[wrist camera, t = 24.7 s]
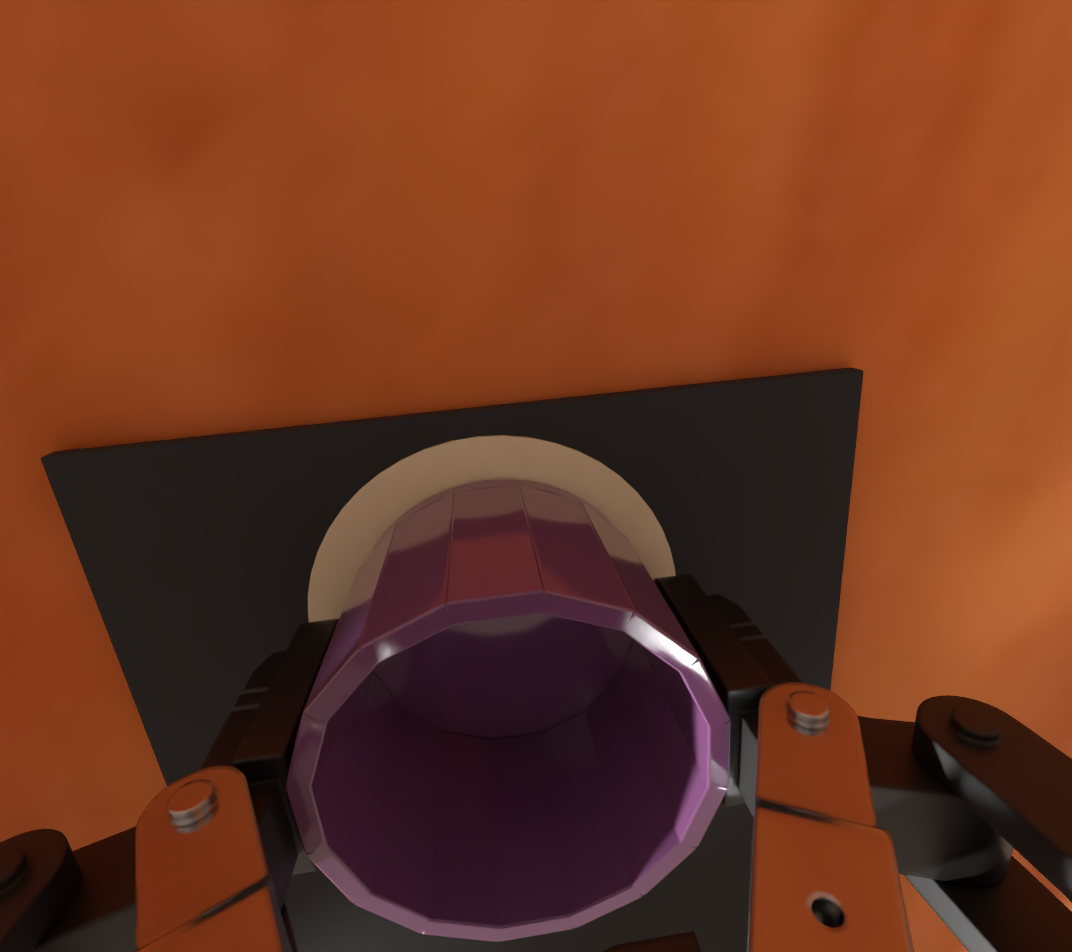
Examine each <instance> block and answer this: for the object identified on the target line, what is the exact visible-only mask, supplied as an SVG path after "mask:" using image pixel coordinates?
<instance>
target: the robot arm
mask: <svg viewBox="0 0 1072 952" xmlns="http://www.w3.org/2000/svg"><path fill="white" fill-rule="evenodd" d="M654 583H655V584H656V586H657V588H658V589H659V591H660V592H661V594H662V596H663V597H664V599H665V601H666V602H667V604H668V606H669V607H670V609H671V611H672V612H673V614H674V616H675V617H676V619H677V621H678V622H679V624H680V626H681V627H682V629H683V630H684V632H685V634H686V635H687V637H688V639H689V640H690V642H691V644H692V645H693V647H694V649H695V650H696V652H697V654H698V655H699V657H700V659H701V661H702V662H703V664H704V666H705V668H706V670H707V672H708V674H709V676H710V678H711V680H712V682H713V684H714V686H715V688H716V690H717V692H718V694H719V696H720V698H721V700H722V702H723V704H724V706H725V708H726V710H727V712H728V714H729V716H730V721H731V735H730V764H729V785H728V789H727V791H726V793H725V795H724V797H723V799H722V803H723V805H724V807H726V806H732V805H739V804H745V803H746V805H747V807H748V808H749V810H750V812H751V814H752V816H753V824H752V843H751V865H750V887H749V908H748V930H747V951H746V952H914V950H913V944H912V939H911V934H910V929H909V924H908V918H907V913H906V908H905V903H904V898H903V893H902V887H901V882H900V877H899V874H903V875H905V877H906V878H907V879H908V880H909V882H910V883H911V884H912V885H913V886H914V888H915V889H916V890H917V891H918V892H919V893H920V895H921V896H922V897H923V898H924V899H925V901H926V902H927V903H928V904H929V905H930V906H931V908H932V909H933V910H934V911H935V912H936V914H937V915H938V916H939V917H940V918H941V919H942V921H943V922H944V923H945V924H946V925H947V927H948V928H949V929H950V930H951V931H952V932H953V934H954V935H955V936H956V937H957V938H958V940H959V941H960V942H961V943H962V944H963V945H964V947H965V948H966V949H967V950H968V951H969V952H1072V912H1071V911H1070V910H1069V909H1068V908H1067V907H1066V906H1065V905H1064V904H1063V903H1062V902H1061V901H1060V900H1059V899H1057V898H1056V897H1055V896H1054V895H1053V894H1052V893H1051V892H1050V891H1049V890H1048V889H1047V888H1046V887H1045V886H1044V885H1043V884H1042V883H1040V882H1039V881H1038V880H1037V879H1036V878H1035V877H1034V876H1033V875H1032V874H1031V873H1030V872H1029V871H1028V870H1027V869H1026V868H1024V867H1023V866H1022V865H1021V864H1020V863H1019V862H1018V861H1017V860H1016V859H1015V858H1014V857H1013V856H1012V855H1011V854H1012V850H1013V848H1014V849H1016V850H1017V851H1018V852H1019V853H1020V854H1021V855H1022V856H1023V857H1024V858H1025V859H1026V860H1027V861H1029V862H1030V863H1031V864H1032V865H1033V866H1034V867H1035V868H1036V869H1037V870H1038V871H1039V872H1040V873H1042V874H1043V875H1044V876H1045V877H1046V878H1047V879H1048V880H1049V881H1050V882H1051V883H1052V884H1053V885H1055V886H1056V887H1057V888H1058V889H1059V890H1060V891H1061V892H1062V893H1063V894H1064V895H1065V896H1066V897H1067V898H1068V899H1069V900H1070V901H1071V902H1072V759H1071V758H1070V757H1068V756H1067V755H1065V754H1064V753H1062V752H1061V751H1060V750H1058V749H1057V748H1055V747H1054V746H1053V745H1051V744H1050V743H1048V742H1047V741H1046V740H1044V739H1043V738H1041V737H1040V736H1039V735H1037V734H1036V733H1034V732H1033V731H1032V730H1030V729H1029V728H1027V727H1026V726H1024V725H1023V724H1022V723H1020V722H1019V721H1017V720H1016V719H1015V718H1013V717H1012V716H1010V715H1008V714H1007V713H1005V712H1003V711H1001V710H999V709H998V708H995V707H993V706H991V705H989V704H986V703H983V702H980V701H977V700H974V699H970V698H965V697H959V696H936V697H932V698H929V699H927V700H925V701H923V702H922V703H921V704H920V705H919V707H918V710H917V714H916V720H915V722H905V721H895V720H884V719H874V718H867V717H861V716H857V714H856V713H855V711H854V710H853V708H852V707H851V706H850V705H849V704H848V703H847V702H846V701H845V700H844V699H842V698H841V697H839V696H838V695H836V694H835V693H833V692H831V691H829V690H827V689H824V688H822V687H819V686H816V685H812V684H807V683H803V682H802V680H801V679H800V678H799V677H798V676H797V674H796V673H795V672H794V671H793V670H792V668H791V667H790V666H789V665H788V663H787V662H786V661H785V660H784V659H783V657H782V656H781V655H780V654H779V653H778V651H777V650H776V649H775V648H774V646H773V645H772V644H771V643H770V642H769V640H768V639H767V638H766V639H765V638H764V634H763V633H762V632H761V631H760V629H759V628H758V627H757V626H756V625H754V624H753V621H752V620H751V619H750V617H749V616H748V615H747V614H746V613H745V611H744V610H743V609H742V608H741V606H739V605H737V604H736V603H734V602H732V601H730V600H729V599H727V598H725V597H724V596H722V595H720V594H717V595H709V596H707V595H706V593H705V592H704V591H703V589H702V588H701V587H700V585H699V584H698V583H697V581H696V580H695V579H694V577H693V576H692V575H691V574H684V575H676V576H669V577H661V578H655V579H654ZM338 621H339V618H338V619H331V620H323V621H315V622H307V623H302V624H300V625H299V627H298V629H297V631H296V633H295V635H294V637H293V639H292V641H291V643H290V645H289V647H288V649H287V651H281V652H274V653H273V654H272V655H271V656H269V657H268V658H267V659H266V660H265V661H264V662H263V663H262V664H261V665H260V666H258V667H257V668H256V669H255V670H254V671H253V673H252V675H251V677H250V678H249V680H248V682H247V684H246V686H245V687H244V689H243V694H242V695H240V696H239V698H238V700H237V702H236V704H235V705H234V707H233V712H231V713H230V715H229V716H228V718H227V720H226V722H225V724H224V725H223V727H222V729H221V731H220V733H219V734H218V736H217V738H216V740H215V742H214V743H213V745H212V747H211V749H210V751H209V753H208V754H207V756H206V758H205V760H204V762H203V763H202V765H201V767H200V769H199V770H197V771H195V772H192V773H190V774H188V775H186V776H184V777H182V778H180V779H178V780H177V781H175V782H173V783H172V784H170V785H169V786H168V787H166V788H165V789H163V790H162V791H161V792H160V793H159V794H158V795H157V796H156V797H155V798H154V799H153V800H152V801H151V802H150V803H149V804H148V805H147V807H146V808H145V809H144V811H143V812H142V814H141V816H140V818H139V820H138V823H137V826H135V827H133V828H131V829H128V830H126V831H124V832H121V833H118V834H116V835H113V836H111V837H108V838H106V839H103V840H100V841H98V842H95V843H93V844H90V845H88V846H85V847H83V848H80V849H77V850H75V851H72V849H71V847H70V845H69V843H68V841H67V839H66V837H65V836H64V834H63V833H61V832H59V831H57V830H53V829H40V830H33V831H29V832H26V833H22V834H20V835H17V836H14V837H12V838H10V839H7V840H5V841H3V842H1V843H0V952H299V949H298V945H297V941H296V937H295V933H294V929H293V925H292V921H291V917H290V913H289V910H288V907H287V904H286V900H285V897H286V894H287V890H288V887H289V884H290V880H291V877H292V875H294V874H300V873H306V872H312V871H317V868H318V867H317V866H316V865H315V864H314V863H313V862H312V861H311V860H310V859H309V858H308V857H307V855H306V853H305V852H304V849H303V845H302V842H301V839H300V835H299V832H298V829H297V825H296V822H295V819H294V815H293V812H292V809H291V805H290V802H289V799H288V795H287V792H286V779H287V775H288V771H289V767H290V762H291V758H292V754H293V750H294V746H295V741H296V737H297V733H298V729H299V725H300V720H301V716H302V713H303V711H304V708H305V705H306V703H307V700H308V698H309V695H310V693H311V690H312V687H313V685H314V682H315V680H316V677H317V675H318V672H319V669H320V667H321V664H322V662H323V659H324V657H325V654H326V651H327V649H328V646H329V644H330V641H331V639H332V636H333V633H334V631H335V628H336V626H337V623H338ZM602 952H701V949H700V946H699V943H698V941H697V938H696V935H695V932H694V931H691V932H686V933H680V934H674V935H669V936H663V937H657V938H652V939H646V940H640V941H635V942H629V943H623V944H618V945H614V946H612V947H610V948H608V949H606V950H604V951H602Z"/></svg>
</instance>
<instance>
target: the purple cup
mask: <svg viewBox="0 0 1072 952" xmlns="http://www.w3.org/2000/svg"><path fill="white" fill-rule="evenodd" d="M730 735H731V721H730V716H729V714H728V712H727V710H726V708H725V706H724V704H723V702H722V700H721V698H720V696H719V694H718V692H717V690H716V688H715V686H714V684H713V682H712V680H711V678H710V676H709V674H708V672H707V670H706V668H705V666H704V664H703V662H702V661H701V659H700V657H699V655H698V654H697V652H696V650H695V649H694V647H693V645H692V644H691V642H690V640H689V639H688V637H687V635H686V634H685V632H684V630H683V629H682V627H681V626H680V624H679V622H678V621H677V619H676V617H675V616H674V614H673V612H672V611H671V609H670V607H669V606H668V604H667V602H666V601H665V599H664V597H663V596H662V594H661V592H660V591H659V589H658V588H657V586H656V584H655V583H654V581H653V579H652V578H651V576H650V574H649V573H648V571H647V569H646V568H645V566H644V564H643V563H642V561H641V559H640V558H639V556H638V554H637V553H636V551H635V550H634V548H633V546H632V545H631V543H630V541H629V540H628V538H627V537H626V536H625V535H624V534H623V533H621V531H620V530H619V529H618V528H617V527H616V525H615V524H614V523H613V522H612V521H611V520H610V519H609V518H608V517H606V516H605V515H604V514H603V513H602V512H601V511H600V510H598V509H597V508H595V507H594V506H592V505H591V504H590V503H588V502H587V501H585V500H584V499H582V498H579V497H577V496H575V495H573V494H571V493H569V492H567V491H565V490H562V489H559V488H556V487H553V486H550V485H547V484H542V483H537V482H532V481H524V480H510V479H503V480H486V481H480V482H474V483H469V484H464V485H461V486H458V487H454V488H451V489H448V490H445V491H443V492H441V493H438V494H436V495H434V496H432V497H430V498H427V499H426V500H424V501H422V502H421V503H419V504H417V505H416V506H414V507H413V508H411V509H409V510H408V511H407V512H406V513H404V514H403V515H402V516H401V517H400V518H398V519H397V520H396V521H395V522H394V523H393V524H392V525H391V526H390V527H389V528H388V529H387V530H386V531H385V532H384V533H383V534H382V535H381V536H380V538H379V539H378V541H377V542H376V544H375V545H374V546H373V548H372V549H371V551H370V552H369V554H368V556H367V558H366V560H365V562H364V563H363V564H362V566H361V567H360V568H359V570H358V572H357V574H356V577H355V579H354V582H353V585H352V587H351V590H350V592H349V595H348V597H347V600H346V603H345V605H344V608H343V610H342V613H341V615H340V618H339V621H338V623H337V626H336V628H335V631H334V633H333V636H332V639H331V641H330V644H329V646H328V649H327V651H326V654H325V657H324V659H323V662H322V664H321V667H320V669H319V672H318V675H317V677H316V680H315V682H314V685H313V687H312V690H311V693H310V695H309V698H308V700H307V703H306V705H305V708H304V711H303V713H302V716H301V720H300V725H299V729H298V733H297V737H296V741H295V746H294V750H293V754H292V758H291V762H290V767H289V771H288V775H287V779H286V792H287V795H288V799H289V802H290V805H291V809H292V812H293V815H294V819H295V822H296V825H297V829H298V832H299V835H300V839H301V842H302V845H303V849H304V852H305V853H306V855H307V857H308V858H309V859H310V860H311V861H312V862H313V863H314V864H315V865H316V866H317V867H318V868H319V869H320V870H321V871H322V872H323V873H324V874H325V875H326V876H327V877H328V878H329V879H330V880H331V881H332V882H333V883H334V884H335V885H336V886H337V888H338V889H339V890H340V891H341V892H342V893H343V894H344V895H345V896H346V897H347V898H348V899H349V900H350V901H351V902H352V903H355V905H356V906H359V907H361V908H363V909H365V910H368V911H370V912H372V913H375V914H377V915H379V916H381V917H384V918H386V919H388V920H390V921H393V922H395V923H397V924H400V925H402V926H404V927H406V928H409V929H411V930H413V931H416V932H418V933H423V934H425V935H434V936H444V937H454V938H464V939H473V940H483V941H493V942H497V941H498V940H499V941H500V942H501V941H507V940H513V939H519V938H525V937H530V936H536V935H542V934H548V933H553V932H559V931H565V930H571V929H574V927H575V928H578V927H580V926H582V925H584V924H586V923H588V922H590V921H592V920H595V919H597V918H599V917H601V916H603V915H605V914H607V913H609V912H612V911H614V910H616V909H618V908H620V907H622V906H624V905H626V904H629V903H631V902H633V901H635V900H637V899H639V898H641V897H642V896H643V895H646V894H647V893H648V892H649V891H650V890H651V889H652V888H653V887H655V886H656V885H657V884H658V883H659V882H660V881H661V880H662V879H663V878H664V877H666V876H667V875H668V874H669V873H670V872H671V871H672V870H673V869H674V868H676V867H677V866H678V865H679V864H680V863H681V862H682V861H683V860H684V859H685V858H687V857H688V856H689V855H690V854H691V853H692V852H693V851H694V850H695V849H696V847H697V846H698V845H699V844H700V842H701V840H702V838H703V836H704V834H705V832H706V830H707V828H708V826H709V824H710V822H711V820H712V818H713V816H714V815H715V813H716V811H717V809H718V807H719V805H720V803H721V801H722V799H723V797H724V795H725V793H726V791H727V789H728V785H729V764H730Z"/></svg>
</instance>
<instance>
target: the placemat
mask: <svg viewBox="0 0 1072 952" xmlns="http://www.w3.org/2000/svg"><path fill="white" fill-rule="evenodd" d="M862 380H863V370H859V369H855V368H844V369H835V370H825V371H816V372H806V373H797V374H787V375H778V376H768V377H759V378H750V379H740V380H731V381H721V382H712V383H702V384H693V385H683V386H674V387H664V388H655V389H645V390H636V391H626V392H617V393H607V394H598V395H589V396H579V397H570V398H560V399H551V400H541V401H532V402H522V403H513V404H503V405H494V406H484V407H475V408H465V409H456V410H446V411H437V412H428V413H418V414H409V415H399V416H390V417H380V418H371V419H361V420H352V421H342V422H333V423H323V424H314V425H304V426H295V427H285V428H276V429H267V430H257V431H248V432H238V433H229V434H219V435H210V436H200V437H191V438H181V439H172V440H162V441H153V442H143V443H134V444H124V445H115V446H106V447H96V448H87V449H77V450H68V451H58V452H53V453H51V454H48V455H46V456H43V457H42V458H41V461H42V463H43V466H44V469H45V471H46V474H47V476H48V479H49V481H50V484H51V487H52V489H53V492H54V494H55V497H56V500H57V502H58V505H59V507H60V510H61V512H62V515H63V518H64V520H65V523H66V525H67V528H68V531H69V533H70V536H71V538H72V541H73V543H74V546H75V549H76V551H77V554H78V556H79V559H80V562H81V564H82V567H83V569H84V572H85V575H86V577H87V580H88V582H89V585H90V587H91V590H92V593H93V595H94V598H95V600H96V603H97V606H98V608H99V611H100V613H101V616H102V618H103V621H104V624H105V626H106V629H107V631H108V634H109V637H110V639H111V642H112V644H113V647H114V649H115V652H116V655H117V657H118V660H119V662H120V665H121V668H122V670H123V673H124V675H125V678H126V681H127V683H128V686H129V688H130V691H131V693H132V696H133V699H134V701H135V704H136V706H137V709H138V712H139V714H140V717H141V719H142V722H143V724H144V727H145V730H146V732H147V735H148V737H149V740H150V743H151V745H152V748H153V750H154V753H155V755H156V758H157V761H158V763H159V766H160V768H161V771H162V774H163V776H164V779H165V781H166V784H167V787H168V786H169V785H170V784H172V783H173V782H175V781H177V780H178V779H180V778H182V777H184V776H186V775H188V774H190V773H192V772H195V771H197V770H199V769H200V767H201V765H202V763H203V762H204V760H205V758H206V756H207V754H208V753H209V751H210V749H211V747H212V745H213V743H214V742H215V740H216V738H217V736H218V734H219V733H220V731H221V729H222V727H223V725H224V724H225V722H226V720H227V718H228V716H229V715H230V713H231V712H233V707H234V705H235V704H236V702H237V700H238V698H239V696H240V695H242V694H243V689H244V687H245V686H246V684H247V682H248V680H249V678H250V677H251V675H252V673H253V671H254V670H255V669H256V668H257V667H258V666H260V665H261V664H262V663H263V662H264V661H265V660H266V659H267V658H268V657H269V656H271V655H272V654H273V653H274V652H281V651H287V649H288V647H289V645H290V643H291V641H292V639H293V637H294V635H295V633H296V631H297V629H298V627H299V625H300V624H302V623H307V622H315V621H323V620H331V619H338V618H340V615H341V613H342V610H343V608H344V605H345V603H346V600H347V597H348V595H349V592H350V590H351V587H352V585H353V582H354V579H355V577H356V574H357V572H358V570H359V568H360V567H361V566H362V564H363V563H364V562H365V560H366V558H367V556H368V554H369V552H370V551H371V549H372V548H373V546H374V545H375V544H376V542H377V541H378V539H379V538H380V536H381V535H382V534H383V533H384V532H385V531H386V530H387V529H388V528H389V527H390V526H391V525H392V524H393V523H394V522H395V521H396V520H397V519H398V518H400V517H401V516H402V515H403V514H404V513H406V512H407V511H408V510H409V509H411V508H413V507H414V506H416V505H417V504H419V503H421V502H422V501H424V500H426V499H427V498H430V497H432V496H434V495H436V494H438V493H441V492H443V491H445V490H448V489H451V488H454V487H458V486H461V485H464V484H469V483H474V482H480V481H486V480H503V479H510V480H524V481H532V482H537V483H542V484H547V485H550V486H553V487H556V488H559V489H562V490H565V491H567V492H569V493H571V494H573V495H575V496H577V497H579V498H582V499H584V500H585V501H587V502H588V503H590V504H591V505H592V506H594V507H595V508H597V509H598V510H600V511H601V512H602V513H603V514H604V515H605V516H606V517H608V518H609V519H610V520H611V521H612V522H613V523H614V524H615V525H616V527H617V528H618V529H619V530H620V531H621V533H623V534H624V535H625V536H626V537H627V538H628V540H629V541H630V543H631V545H632V546H633V548H634V550H635V551H636V553H637V554H638V556H639V558H640V559H641V561H642V563H643V564H644V566H645V568H646V569H647V571H648V573H649V574H650V576H651V578H652V579H653V581H654V579H655V578H661V577H669V576H676V575H684V574H691V575H692V576H693V577H694V579H695V580H696V581H697V583H698V584H699V585H700V587H701V588H702V589H703V591H704V592H705V593H706V595H707V596H709V595H717V594H720V595H722V596H724V597H725V598H727V599H729V600H730V601H732V602H734V603H736V604H737V605H739V606H741V608H742V609H743V610H744V611H745V613H746V614H747V615H748V616H749V617H750V619H751V620H752V621H753V624H754V625H756V626H757V627H758V628H759V629H760V631H761V632H762V633H763V634H764V638H765V639H766V638H767V639H768V640H769V642H770V643H771V644H772V645H773V646H774V648H775V649H776V650H777V651H778V653H779V654H780V655H781V656H782V657H783V659H784V660H785V661H786V662H787V663H788V665H789V666H790V667H791V668H792V670H793V671H794V672H795V673H796V674H797V676H798V677H799V678H800V679H801V680H802V682H803V683H807V684H812V685H816V686H819V687H822V688H824V689H827V690H829V691H830V687H831V677H832V668H833V658H834V648H835V639H836V629H837V620H838V610H839V600H840V591H841V581H842V572H843V562H844V553H845V543H846V533H847V524H848V514H849V505H850V495H851V485H852V476H853V466H854V457H855V447H856V437H857V428H858V418H859V409H860V399H861V389H862ZM752 824H753V816H752V814H751V812H750V810H749V808H748V807H747V805H746V803H745V804H739V805H732V806H726V807H724V805H723V803H722V801H721V803H720V805H719V807H718V809H717V811H716V813H715V815H714V816H713V818H712V820H711V822H710V824H709V826H708V828H707V830H706V832H705V834H704V836H703V838H702V840H701V842H700V844H699V845H698V846H697V847H696V849H695V850H694V851H693V852H692V853H691V854H690V855H689V856H688V857H687V858H685V859H684V860H683V861H682V862H681V863H680V864H679V865H678V866H677V867H676V868H674V869H673V870H672V871H671V872H670V873H669V874H668V875H667V876H666V877H664V878H663V879H662V880H661V881H660V882H659V883H658V884H657V885H656V886H655V887H653V888H652V889H651V890H650V891H649V892H648V893H647V894H646V895H643V896H642V897H641V898H639V899H637V900H635V901H633V902H631V903H629V904H626V905H624V906H622V907H620V908H618V909H616V910H614V911H612V912H609V913H607V914H605V915H603V916H601V917H599V918H597V919H595V920H592V921H590V922H588V923H586V924H584V925H582V926H580V927H578V928H575V927H574V929H571V930H565V931H559V932H553V933H548V934H542V935H536V936H530V937H525V938H519V939H513V940H507V941H501V942H500V941H499V940H498V941H497V942H493V941H483V940H473V939H464V938H454V937H444V936H434V935H425V934H423V933H418V932H416V931H413V930H411V929H409V928H406V927H404V926H402V925H400V924H397V923H395V922H393V921H390V920H388V919H386V918H384V917H381V916H379V915H377V914H375V913H372V912H370V911H368V910H365V909H363V908H361V907H359V906H356V905H355V903H352V902H351V901H350V900H349V899H348V898H347V897H346V896H345V895H344V894H343V893H342V892H341V891H340V890H339V889H338V888H337V886H336V885H335V884H334V883H333V882H332V881H331V880H330V879H329V878H328V877H327V876H326V875H325V874H324V873H323V872H322V871H321V870H320V869H319V868H317V871H312V872H306V873H300V874H294V875H292V877H291V880H290V884H289V887H288V890H287V894H286V897H285V900H286V904H287V907H288V910H289V913H290V917H291V921H292V925H293V929H294V933H295V937H296V941H297V945H298V949H299V952H602V951H604V950H606V949H608V948H610V947H612V946H614V945H618V944H623V943H629V942H635V941H640V940H646V939H652V938H657V937H663V936H669V935H674V934H680V933H686V932H691V931H694V932H695V935H696V938H697V941H698V943H699V946H700V949H701V952H746V951H747V930H748V908H749V887H750V865H751V843H752Z"/></svg>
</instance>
